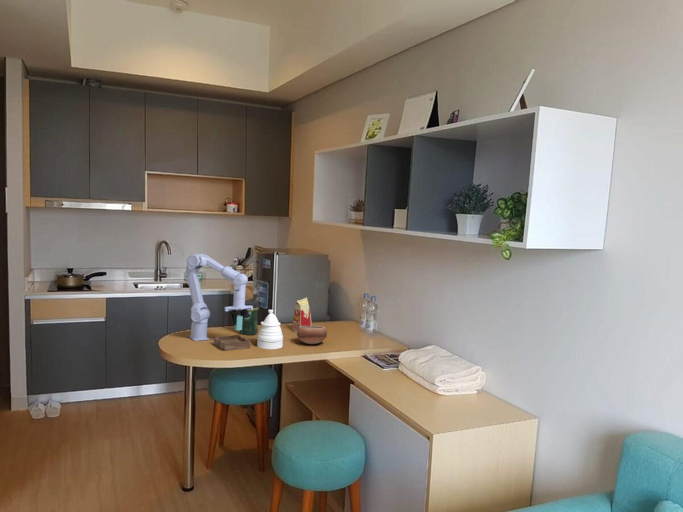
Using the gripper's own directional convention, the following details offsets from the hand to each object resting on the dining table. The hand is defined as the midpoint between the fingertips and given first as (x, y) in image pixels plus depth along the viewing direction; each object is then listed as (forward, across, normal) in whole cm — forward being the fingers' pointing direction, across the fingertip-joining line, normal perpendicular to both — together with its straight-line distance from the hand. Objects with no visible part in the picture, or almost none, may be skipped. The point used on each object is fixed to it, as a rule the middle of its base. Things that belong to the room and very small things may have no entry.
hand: (238, 324), depth 267 cm
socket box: (+10, -4, -4) cm, 11 cm away
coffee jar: (+10, +14, +17) cm, 24 cm away
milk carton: (+10, +44, +11) cm, 46 cm away
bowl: (+10, +36, -14) cm, 39 cm away
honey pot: (+10, +14, -10) cm, 20 cm away
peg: (+3, 0, 0) cm, 3 cm away
